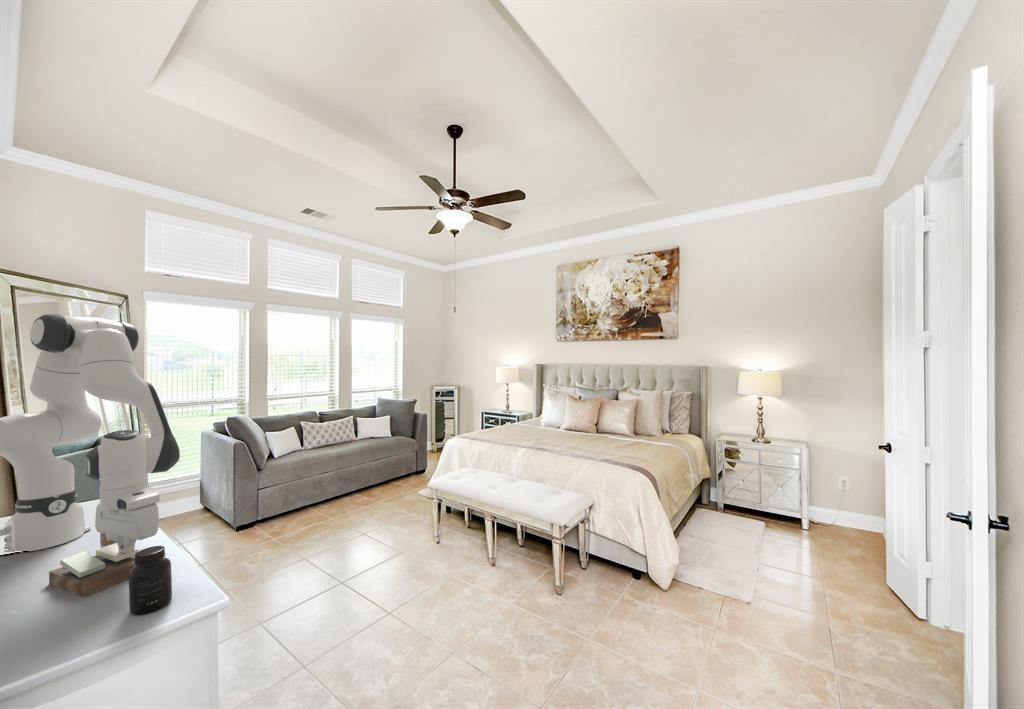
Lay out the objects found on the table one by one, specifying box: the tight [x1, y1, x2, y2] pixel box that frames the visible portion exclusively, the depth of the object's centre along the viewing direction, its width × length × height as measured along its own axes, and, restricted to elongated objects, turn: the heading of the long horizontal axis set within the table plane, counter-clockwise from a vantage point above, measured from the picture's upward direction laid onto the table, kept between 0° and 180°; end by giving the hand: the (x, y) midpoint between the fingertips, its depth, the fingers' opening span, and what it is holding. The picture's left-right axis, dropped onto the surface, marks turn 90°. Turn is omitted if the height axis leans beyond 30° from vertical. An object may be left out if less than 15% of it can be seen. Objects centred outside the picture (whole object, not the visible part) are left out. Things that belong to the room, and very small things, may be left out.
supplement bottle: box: [128, 545, 173, 617], centre depth 87 cm, size 7×7×12 cm
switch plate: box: [48, 554, 135, 598], centre depth 100 cm, size 16×12×4 cm
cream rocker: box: [95, 543, 139, 562], centre depth 103 cm, size 9×4×1 cm, turn 68°
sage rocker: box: [59, 550, 105, 578], centre depth 97 cm, size 9×4×1 cm, turn 68°
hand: (126, 552), depth 101 cm, fingers closed, pressing on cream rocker
